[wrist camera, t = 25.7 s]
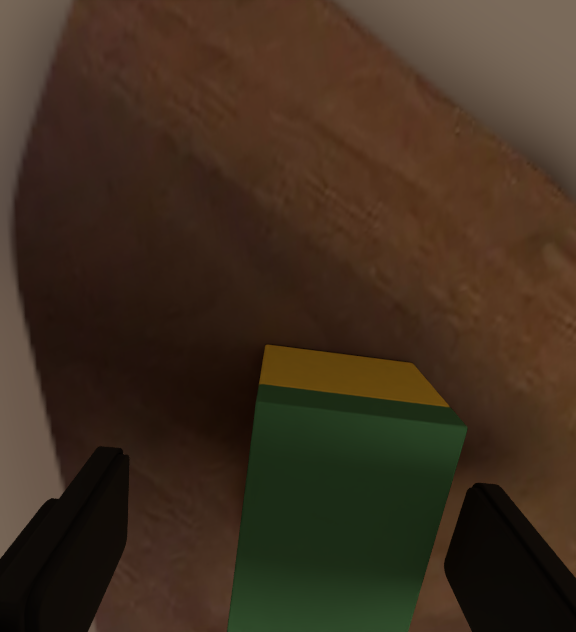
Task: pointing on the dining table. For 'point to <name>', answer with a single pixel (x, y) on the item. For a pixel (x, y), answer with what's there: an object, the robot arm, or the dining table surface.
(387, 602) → the sponge
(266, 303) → the dining table surface
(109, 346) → the dining table surface
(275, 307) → the dining table surface
